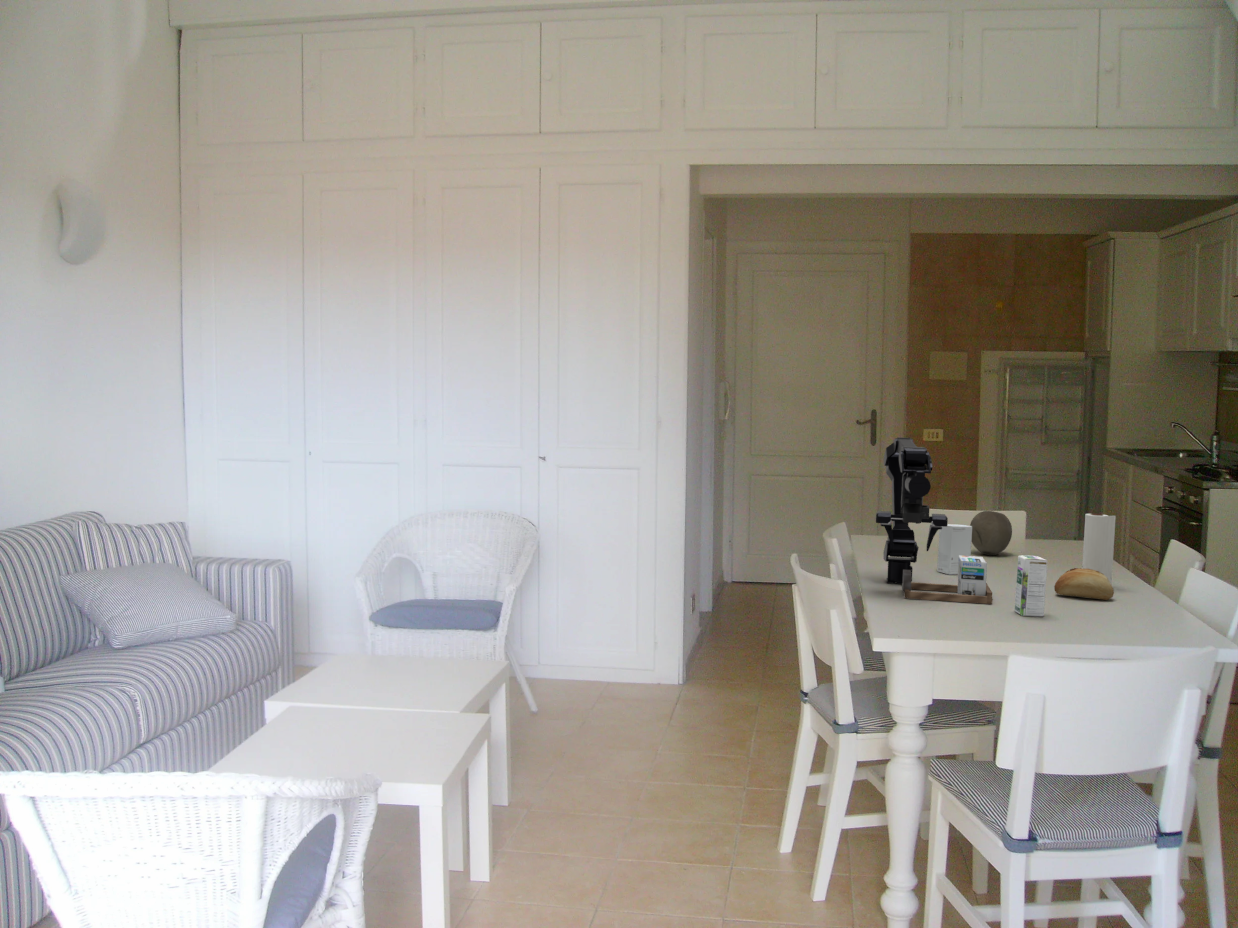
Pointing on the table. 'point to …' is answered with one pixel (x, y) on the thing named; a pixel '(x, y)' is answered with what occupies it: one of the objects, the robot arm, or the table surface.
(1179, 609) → the table surface
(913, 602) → the table surface
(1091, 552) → the paper towel roll
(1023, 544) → the table surface
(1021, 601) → the syrup box
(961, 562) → the light bulb box
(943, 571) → the skincare box
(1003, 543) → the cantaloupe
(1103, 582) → the bread roll
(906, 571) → the brown rectangular frame
